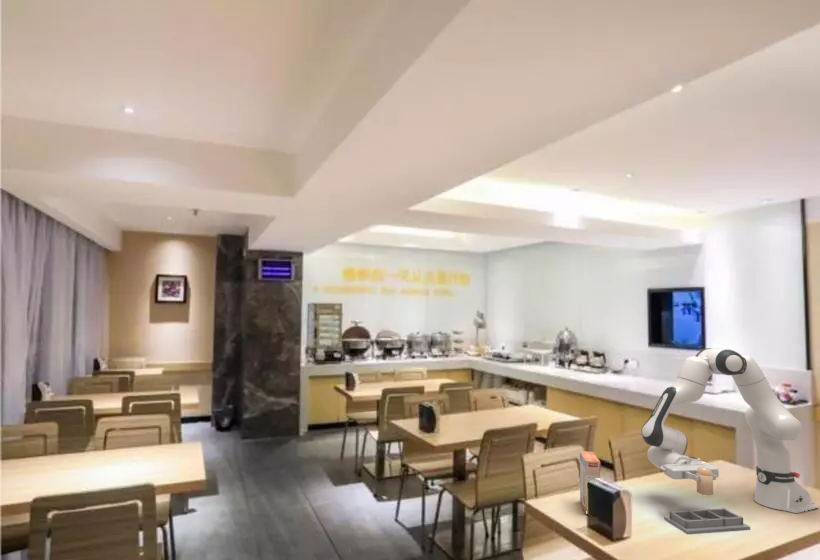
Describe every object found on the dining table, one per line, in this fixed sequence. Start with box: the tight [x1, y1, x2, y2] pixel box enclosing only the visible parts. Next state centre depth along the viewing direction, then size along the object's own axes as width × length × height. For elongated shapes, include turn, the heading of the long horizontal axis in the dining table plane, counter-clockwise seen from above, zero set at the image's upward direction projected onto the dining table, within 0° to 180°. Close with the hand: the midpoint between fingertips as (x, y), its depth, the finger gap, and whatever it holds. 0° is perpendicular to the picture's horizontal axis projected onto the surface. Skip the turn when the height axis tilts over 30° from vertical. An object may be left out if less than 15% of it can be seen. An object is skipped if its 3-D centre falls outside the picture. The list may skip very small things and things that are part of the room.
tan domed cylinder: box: [696, 466, 714, 496], centre depth 178 cm, size 5×5×10 cm
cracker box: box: [579, 450, 601, 513], centre depth 191 cm, size 14×6×21 cm, turn 168°
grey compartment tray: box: [663, 508, 751, 535], centre depth 177 cm, size 26×12×4 cm, turn 99°
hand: (706, 478), depth 177 cm, fingers closed on tan domed cylinder, 5 cm apart
